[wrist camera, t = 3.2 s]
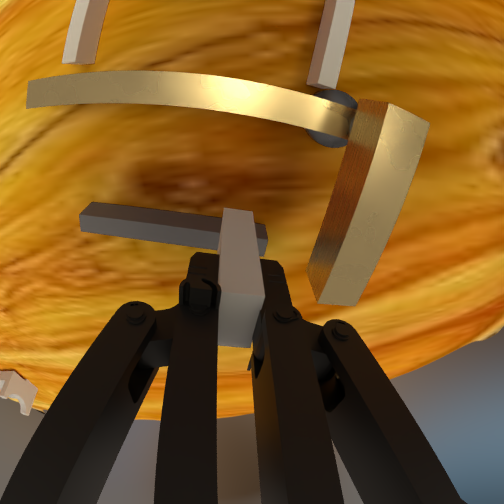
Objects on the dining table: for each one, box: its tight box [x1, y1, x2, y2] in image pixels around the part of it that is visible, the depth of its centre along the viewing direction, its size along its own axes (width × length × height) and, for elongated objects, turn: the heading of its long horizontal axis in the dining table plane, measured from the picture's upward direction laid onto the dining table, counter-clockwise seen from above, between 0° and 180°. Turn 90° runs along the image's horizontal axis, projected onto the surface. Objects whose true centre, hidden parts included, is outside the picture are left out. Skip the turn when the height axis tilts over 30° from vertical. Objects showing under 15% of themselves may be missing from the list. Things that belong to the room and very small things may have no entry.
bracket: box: [0, 371, 38, 416], centre depth 36 cm, size 13×7×8 cm, turn 109°
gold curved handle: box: [26, 71, 430, 306], centre depth 14 cm, size 21×10×9 cm, turn 79°
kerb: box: [79, 202, 268, 257], centre depth 21 cm, size 15×2×2 cm, turn 79°
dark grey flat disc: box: [305, 90, 358, 148], centre depth 18 cm, size 4×4×1 cm
